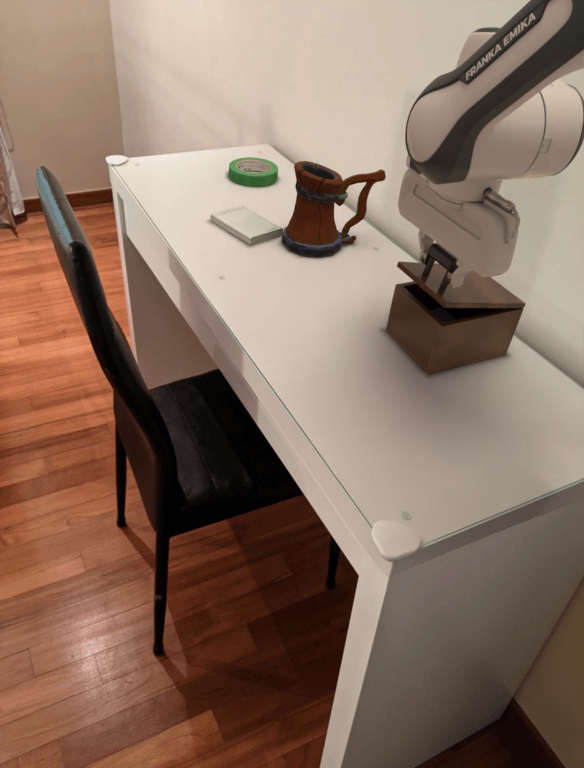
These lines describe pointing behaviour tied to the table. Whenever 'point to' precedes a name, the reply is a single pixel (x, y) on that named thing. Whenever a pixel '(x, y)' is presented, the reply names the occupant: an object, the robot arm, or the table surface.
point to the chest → (448, 330)
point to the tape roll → (253, 179)
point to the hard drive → (246, 225)
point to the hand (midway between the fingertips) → (439, 273)
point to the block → (443, 314)
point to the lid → (469, 295)
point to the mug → (323, 209)
